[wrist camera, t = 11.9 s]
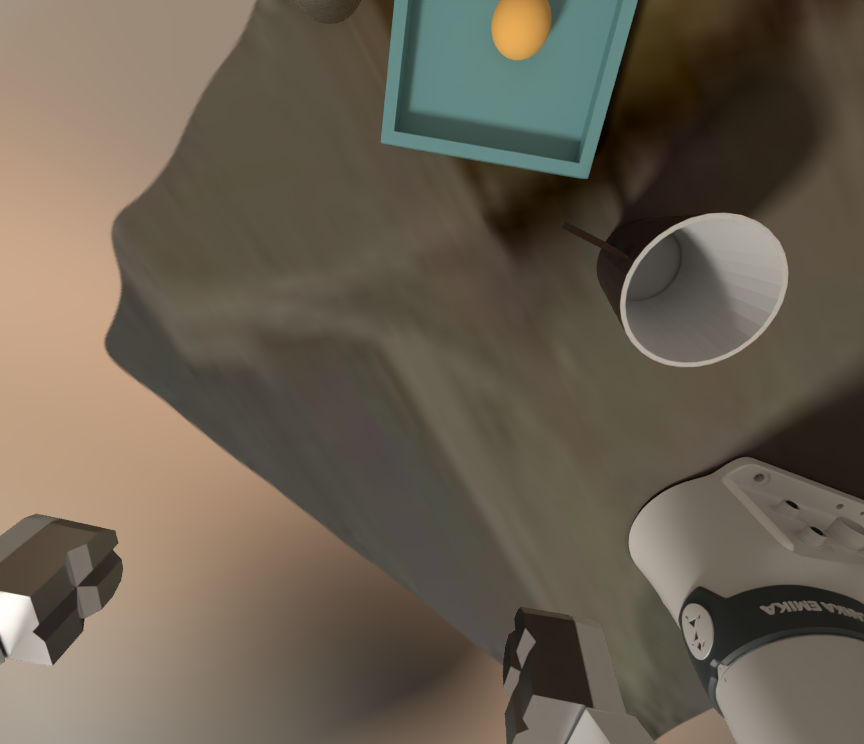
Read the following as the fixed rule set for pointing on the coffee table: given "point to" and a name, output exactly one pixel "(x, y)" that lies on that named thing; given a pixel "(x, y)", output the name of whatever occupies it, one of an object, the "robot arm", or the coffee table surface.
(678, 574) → the robot arm
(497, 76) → the tray
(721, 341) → the coffee mug
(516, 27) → the ball
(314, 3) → the cup
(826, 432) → the coffee table surface
